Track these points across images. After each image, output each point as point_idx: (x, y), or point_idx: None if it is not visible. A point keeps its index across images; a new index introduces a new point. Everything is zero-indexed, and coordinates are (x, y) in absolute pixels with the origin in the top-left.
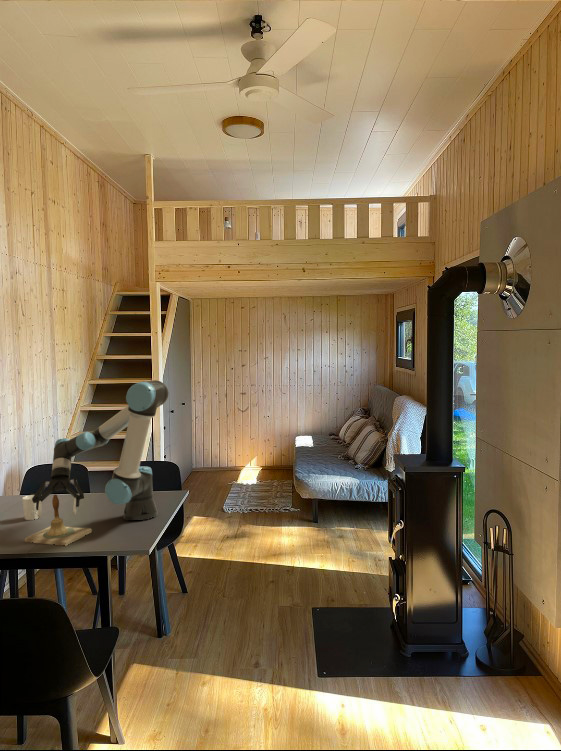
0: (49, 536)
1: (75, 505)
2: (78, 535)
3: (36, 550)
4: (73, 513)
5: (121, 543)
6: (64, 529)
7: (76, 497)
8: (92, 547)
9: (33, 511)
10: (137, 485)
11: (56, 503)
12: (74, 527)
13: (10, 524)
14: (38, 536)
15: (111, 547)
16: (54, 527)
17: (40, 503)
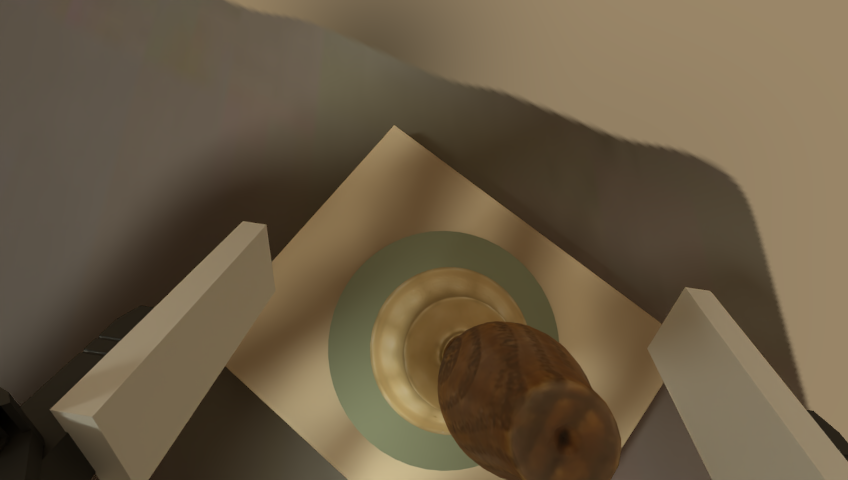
0: (508, 285)
1: (183, 282)
2: (308, 222)
3: (566, 136)
4: (270, 258)
5: (95, 41)
6: (398, 312)
7: (30, 423)
8: (256, 47)
9: None
10: None
11: (486, 325)
12: (320, 449)
13: None
14: (590, 338)
15: (161, 5)
16: (478, 298)
17: (826, 473)
